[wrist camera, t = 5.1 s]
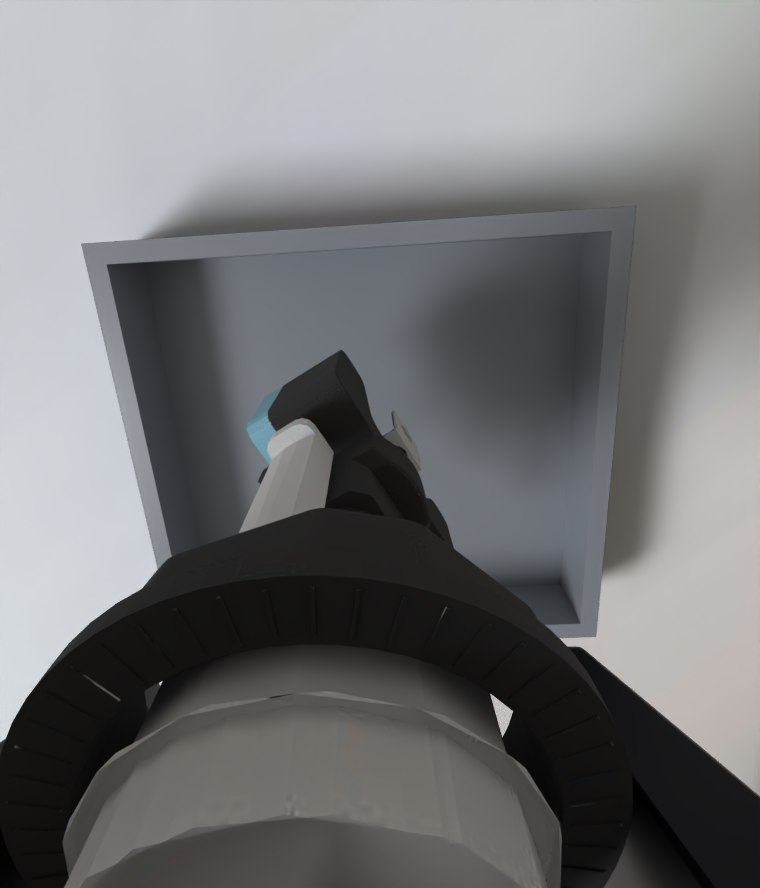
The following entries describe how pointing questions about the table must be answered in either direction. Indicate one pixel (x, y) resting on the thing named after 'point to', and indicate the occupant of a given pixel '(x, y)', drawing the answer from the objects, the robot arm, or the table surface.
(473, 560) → the tray
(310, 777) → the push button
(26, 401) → the table surface
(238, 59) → the table surface
